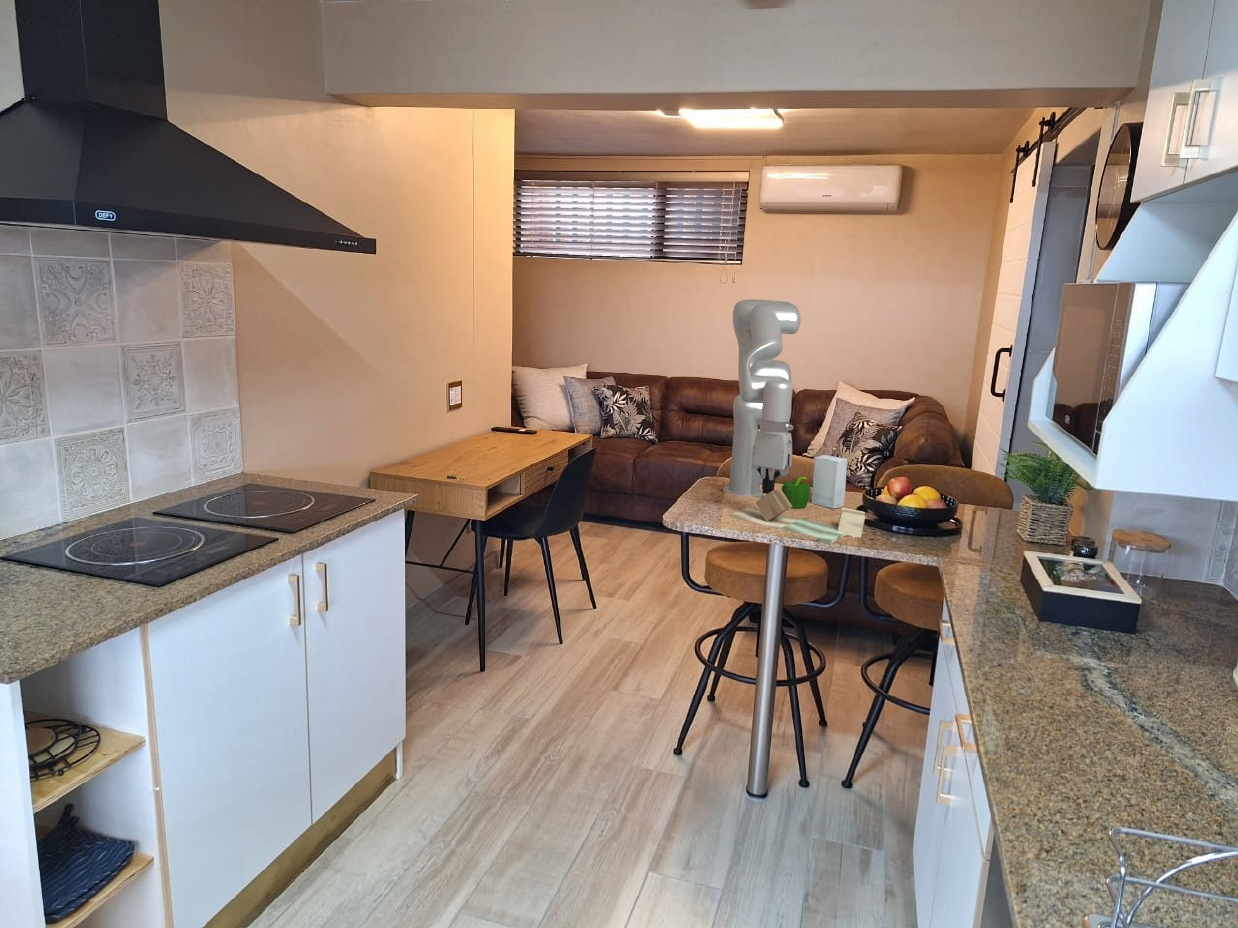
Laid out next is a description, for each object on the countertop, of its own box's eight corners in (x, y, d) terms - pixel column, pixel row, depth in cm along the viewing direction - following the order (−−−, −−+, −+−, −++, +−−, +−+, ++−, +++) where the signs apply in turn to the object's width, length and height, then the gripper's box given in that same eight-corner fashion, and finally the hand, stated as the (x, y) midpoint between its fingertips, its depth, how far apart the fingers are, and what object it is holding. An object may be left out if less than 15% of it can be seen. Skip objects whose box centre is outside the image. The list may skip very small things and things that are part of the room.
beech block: (837, 528, 222) (841, 507, 220) (860, 533, 220) (864, 511, 219) (837, 534, 216) (841, 512, 215) (860, 538, 214) (865, 517, 213)
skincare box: (844, 506, 246) (850, 458, 243) (833, 509, 242) (839, 460, 239) (820, 500, 252) (825, 453, 249) (809, 503, 248) (814, 455, 245)
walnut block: (764, 499, 227) (780, 488, 223) (776, 517, 225) (792, 506, 222) (754, 503, 222) (770, 491, 219) (766, 521, 221) (783, 510, 217)
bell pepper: (775, 509, 238) (779, 476, 235) (784, 504, 245) (787, 471, 243) (804, 515, 234) (808, 481, 232) (811, 509, 241) (815, 476, 239)
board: (748, 510, 235) (748, 506, 235) (849, 533, 218) (850, 529, 218) (725, 519, 224) (726, 516, 224) (830, 544, 207) (830, 540, 207)
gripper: (806, 429, 217) (798, 496, 221) (755, 421, 226) (749, 485, 230) (794, 432, 211) (787, 500, 215) (742, 424, 220) (736, 490, 224)
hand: (767, 492), depth 222 cm, fingers closed
